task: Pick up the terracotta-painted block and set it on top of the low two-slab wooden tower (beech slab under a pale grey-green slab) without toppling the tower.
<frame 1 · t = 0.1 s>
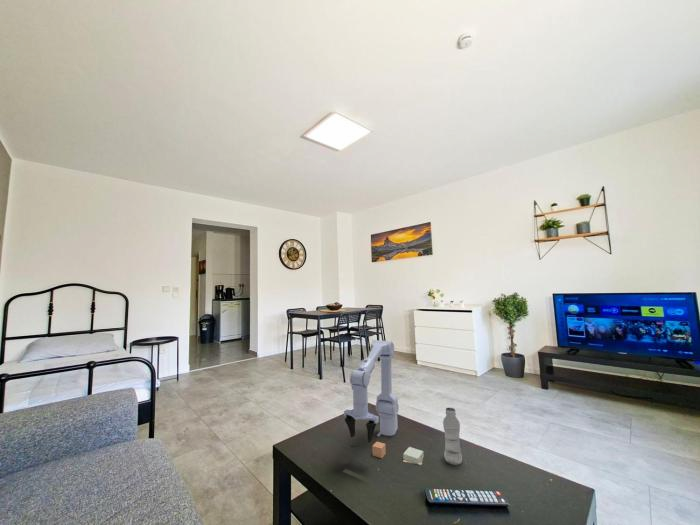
hand: (361, 438, 108), 10 cm above the table, fingers open, 7 cm apart
top slab: (413, 457, 110), point 1 cm above the table, touching bottom slab
plastic bottle: (453, 464, 108), on the table
block: (379, 458, 112), on the table
bottom slab: (413, 463, 109), on the table, touching top slab
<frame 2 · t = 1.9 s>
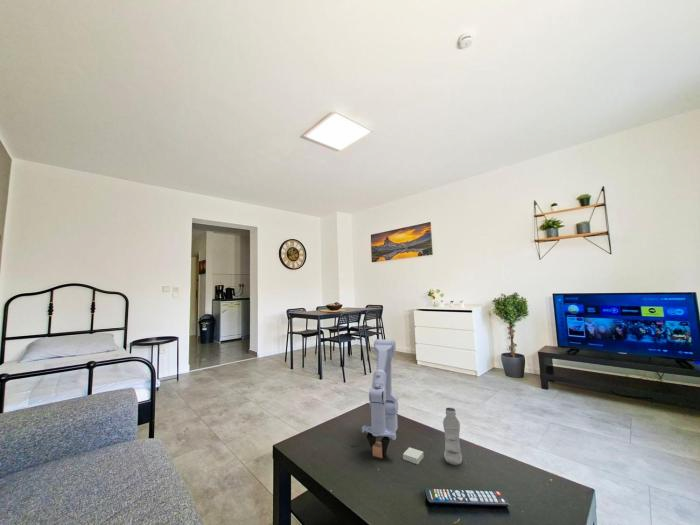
hand: (379, 454, 113), 1 cm above the table, fingers closed on block, 4 cm apart
block: (379, 457, 112), on the table, touching gripper
everything else where it was.
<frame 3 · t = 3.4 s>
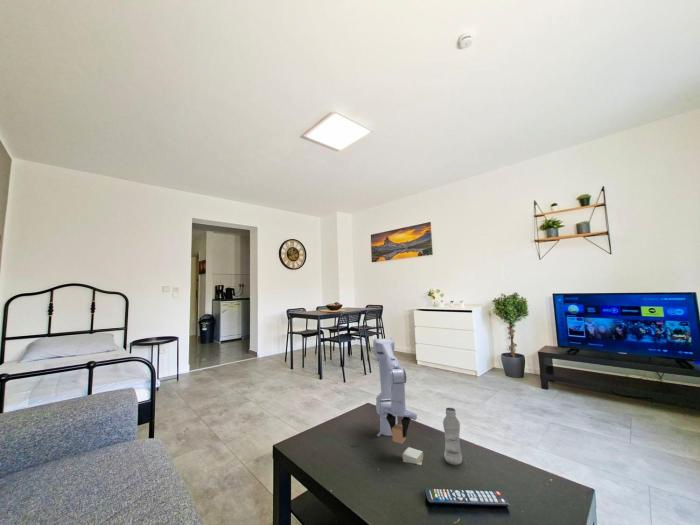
hand: (399, 435, 112), 9 cm above the table, fingers closed on block, 4 cm apart
block: (399, 440, 111), point 8 cm above the table, touching gripper
everything else where it was.
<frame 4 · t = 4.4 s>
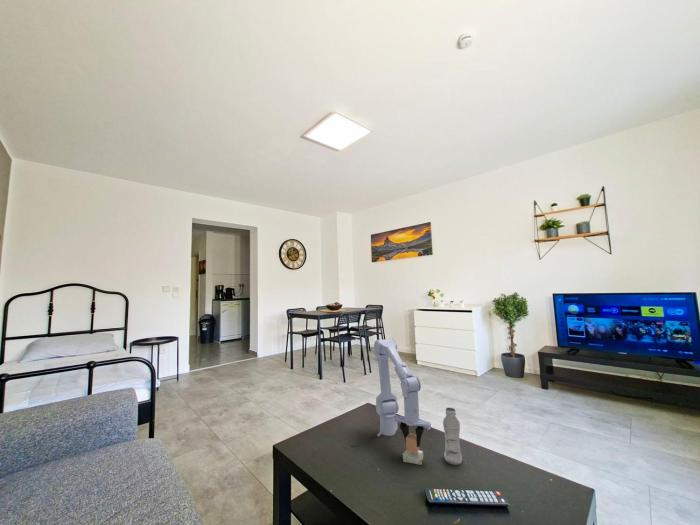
hand: (412, 444, 110), 6 cm above the table, fingers closed on block, 4 cm apart
top slab: (413, 457, 110), point 1 cm above the table
block: (412, 449, 110), point 5 cm above the table, touching gripper
bottom slab: (413, 463, 109), on the table
everything else where it was.
when the fingers open (6 cm above the table, at t = 4.6 s): block drops 1 cm, resting on top slab.
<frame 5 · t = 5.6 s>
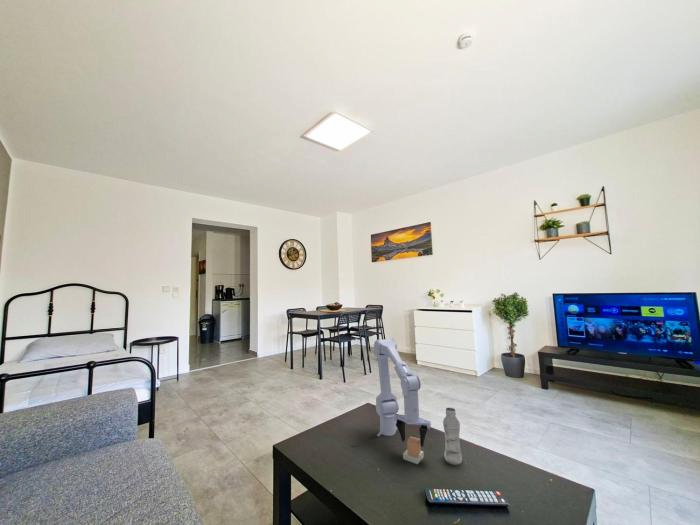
hand: (412, 442, 110), 7 cm above the table, fingers open, 7 cm apart
top slab: (413, 457, 110), point 1 cm above the table, touching block, bottom slab
block: (414, 453, 109), point 3 cm above the table, touching top slab
bottom slab: (413, 463, 110), on the table, touching top slab
everything else where it was.
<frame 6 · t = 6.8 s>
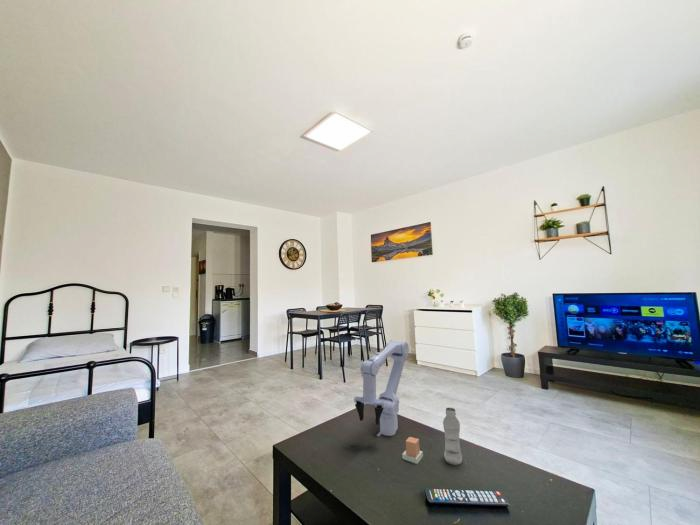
hand: (369, 421, 122), 10 cm above the table, fingers open, 7 cm apart
nothing on the table moved.
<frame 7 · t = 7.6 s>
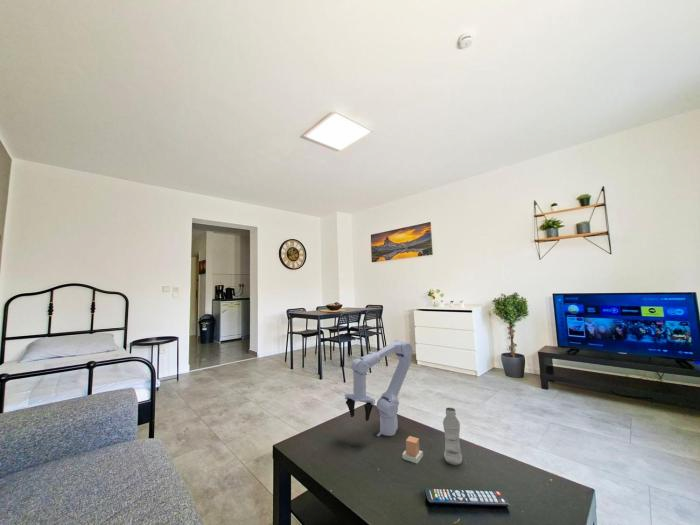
hand: (359, 418, 125), 10 cm above the table, fingers open, 7 cm apart
nothing on the table moved.
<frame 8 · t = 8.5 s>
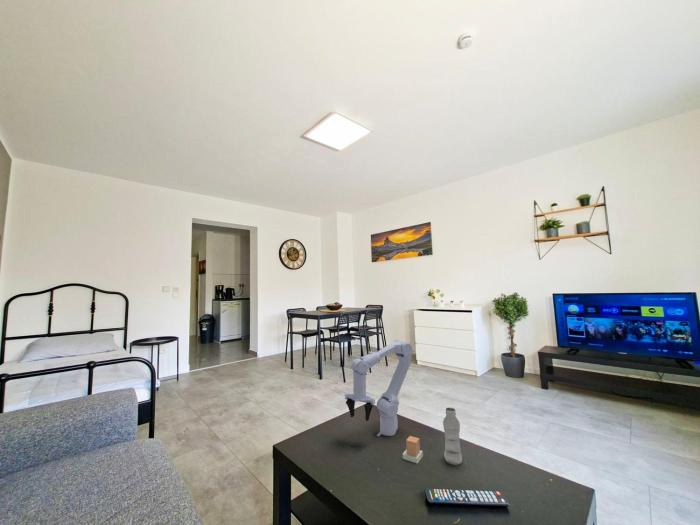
hand: (359, 418, 125), 10 cm above the table, fingers open, 7 cm apart
nothing on the table moved.
at the end: block 0.4 cm off-centre on the top slab, point 2.0 cm above the top slab's base; block tilted 1°; top slab moved 0.9 cm from its start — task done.
